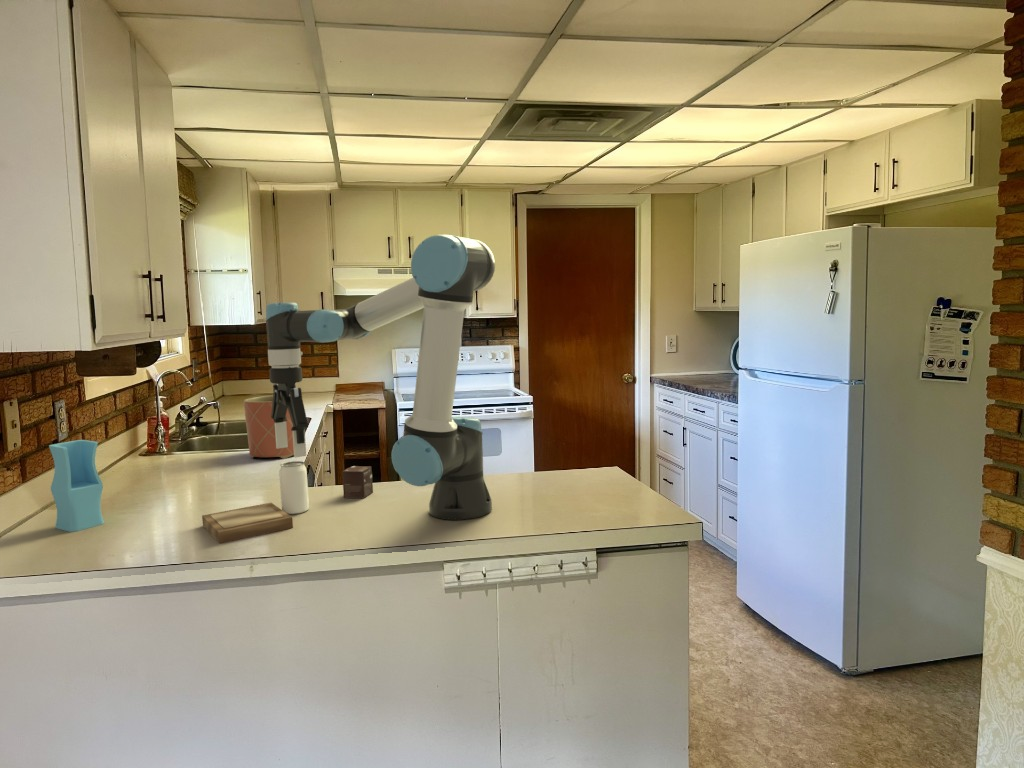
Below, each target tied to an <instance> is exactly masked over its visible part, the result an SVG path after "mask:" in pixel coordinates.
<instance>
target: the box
mask: <svg viewBox="0 0 1024 768" xmlns="http://www.w3.org/2000/svg"><path fill="white" fill-rule="evenodd" d="M372 469H373V468H372V466H371V465H369V466H363V465H362V466H359V465H353V466H352V465H351V466H350V467H347V468H346V469H344V470H342V471H341V472H342V475H341V476H342V488H343V489H342V490H343V498H344V499H347V498H348V499H365V498H367V497H369V496H370V495H372V494H373V493H374V487H373V486H374V483H373V471H372Z"/></svg>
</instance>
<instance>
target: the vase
mask: <svg viewBox="0 0 1024 768" xmlns="http://www.w3.org/2000/svg"><path fill="white" fill-rule="evenodd" d="M98 444H99V442H98V441H95V440H94V441H93V440H87V439H76V440H71V441H65V442H59V443H54V444H53V443H52V444H49V445H48V447H49V450H50V453H51V456H52V459H53V463H54V473H53V479H52V482H51V485H50V492H51V495H52V496H53V497H52V498H53V500H54V503H55V507H56V522H55V529H58V530H61V531H65V532H69V533H73V532H79V531H84V530H86V529H87V530H88V529H90V528H93V527H97V526H102V525H103V524H105V522H104V518H103V515H102V510H101V501H102V492H103V489H104V485H103V481H102V479H101V478H100V475H99V473H98V470H97V468H96V467H97V466H96V454H97V453H96V452H97V449H98Z"/></svg>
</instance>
